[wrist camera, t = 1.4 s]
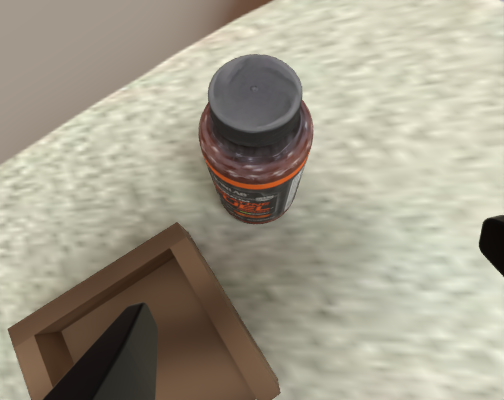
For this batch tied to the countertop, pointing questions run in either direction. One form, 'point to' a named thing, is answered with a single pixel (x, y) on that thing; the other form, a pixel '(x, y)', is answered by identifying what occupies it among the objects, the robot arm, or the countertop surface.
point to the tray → (166, 317)
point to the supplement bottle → (256, 136)
